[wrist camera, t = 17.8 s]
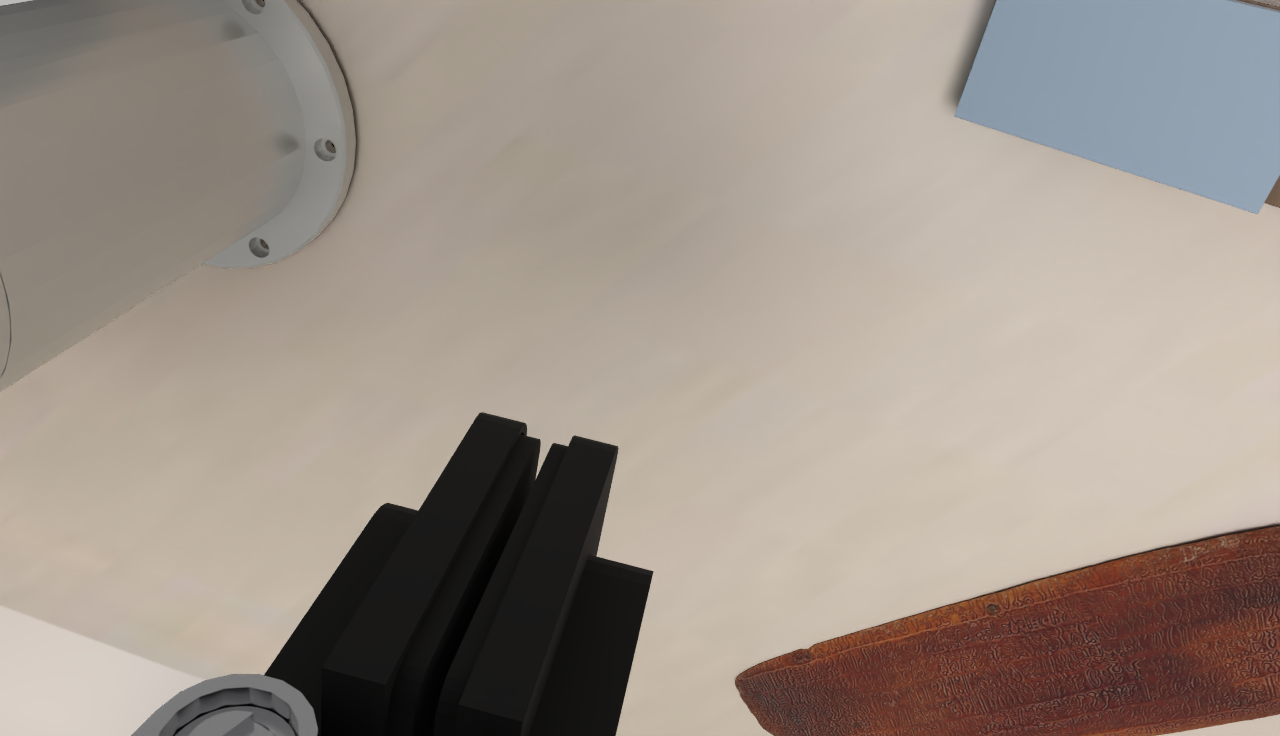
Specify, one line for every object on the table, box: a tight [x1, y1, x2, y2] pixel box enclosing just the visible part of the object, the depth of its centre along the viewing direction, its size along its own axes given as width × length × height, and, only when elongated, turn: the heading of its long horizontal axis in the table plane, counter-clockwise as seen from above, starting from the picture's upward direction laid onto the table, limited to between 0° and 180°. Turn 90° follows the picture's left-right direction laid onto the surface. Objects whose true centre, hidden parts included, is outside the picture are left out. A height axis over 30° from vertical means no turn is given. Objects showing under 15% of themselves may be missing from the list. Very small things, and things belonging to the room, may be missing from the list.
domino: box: [955, 0, 1280, 214], centre depth 27 cm, size 2×5×9 cm
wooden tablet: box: [735, 526, 1280, 736], centre depth 42 cm, size 27×10×2 cm, turn 118°
